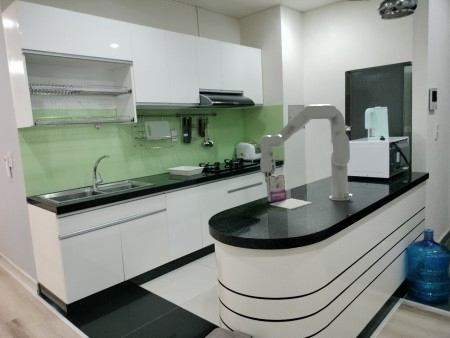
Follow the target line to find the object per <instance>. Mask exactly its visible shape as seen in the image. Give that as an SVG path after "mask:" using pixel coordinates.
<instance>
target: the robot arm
mask: <svg viewBox="0 0 450 338" xmlns="http://www.w3.org/2000/svg"><path fill="white" fill-rule="evenodd" d="M323 119H324V120H328V121H329V124H330V137H331V138H330V142H331V144H332V153H331V155H330V161H331V162H330V163H331V166H330V168H331V195H329V196H328V198H329V200H331V201H340V202H341V201H349V200H350V199H352V198H353V197H354V195H353V194H351V193H350V192H349V191H348V164H349V163H350V159H351V152H350V150H351V149H350V138H349V136H348V135H347V132H346V122H345V118H344V114H343V113H342V112H341V111H340V110H339V109H338V108H337V107H336V106H335V105H333V104H308V105H305V106H304V108H302V109H301V110H300V111H299V112H298V113H297V114H296V115H295V116H294V117H292V118H291V119H290V121H288V122H287V124H286V125H285V126H284V127H283V128H281V130H280V131H278V133H276V134H275V135H262V136H260V153H261V156H260V162H259V163H260V165H259V166H260V168H259V169H260V171H261V173H262V174H264V177H265V178H264V179H265V183H266V176H273V175H274V174H275V172H276V170H277V169H276V168H277V167H276V160H275V157H274V149H273V148H274V147H277V148H278V147H282V146H283V145H284V143H286V142H287V140H288V139H290V138H291V137H292V136H294V135H295V134H296V133H299V131H301V130H302V129H303V128H304V127H305V126H306V125H307V124H308V123H309V122H310V121H311V120H323Z"/></svg>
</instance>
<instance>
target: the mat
mask: <svg viewBox="0 0 450 338" xmlns="http://www.w3.org/2000/svg"><path fill="white" fill-rule="evenodd" d="M311 204H313V202H311V201H307V200H301V199H296V198H288V199H287V198H286V200H281V201H275V202H271V203H269V205H270V206H274V207H278V208H283V209H287V210H294V209H298V208H301V207H304V206H307V205H311Z"/></svg>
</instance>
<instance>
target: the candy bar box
mask: <svg viewBox="0 0 450 338" xmlns="http://www.w3.org/2000/svg"><path fill="white" fill-rule="evenodd" d="M265 183H266V191H267V192H266V194H267V201H268V202H270V203H276V202H280V201H283V200H287V194H286V183H285V175H284V174H276V175H274V174H272V175H271V176H266V182H265Z"/></svg>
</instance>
